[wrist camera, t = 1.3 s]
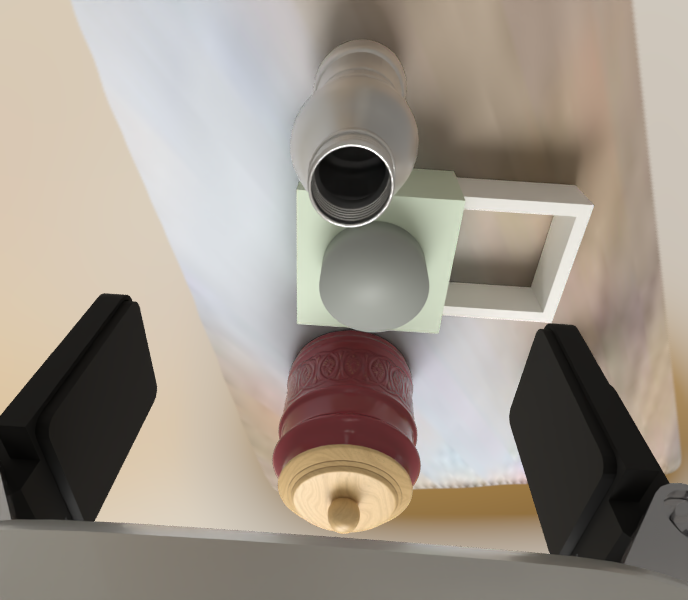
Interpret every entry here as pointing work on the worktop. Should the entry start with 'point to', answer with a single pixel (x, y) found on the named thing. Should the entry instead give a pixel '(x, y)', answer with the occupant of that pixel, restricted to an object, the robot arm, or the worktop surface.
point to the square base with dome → (429, 256)
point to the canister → (347, 433)
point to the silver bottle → (355, 134)
